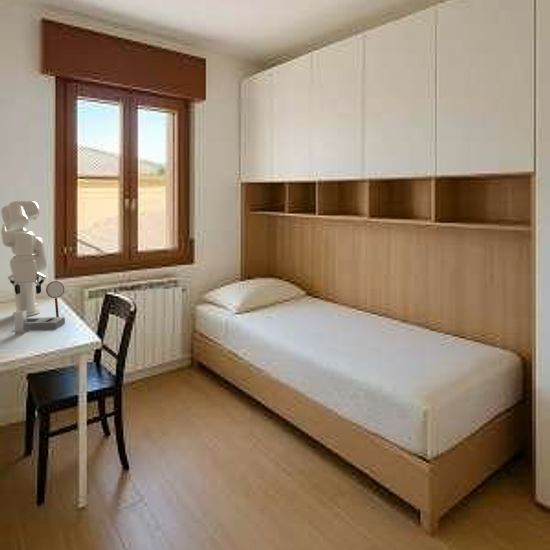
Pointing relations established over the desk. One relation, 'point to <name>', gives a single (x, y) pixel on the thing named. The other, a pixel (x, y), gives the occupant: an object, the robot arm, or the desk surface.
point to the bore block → (45, 322)
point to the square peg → (20, 322)
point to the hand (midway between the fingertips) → (28, 293)
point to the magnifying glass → (55, 292)
